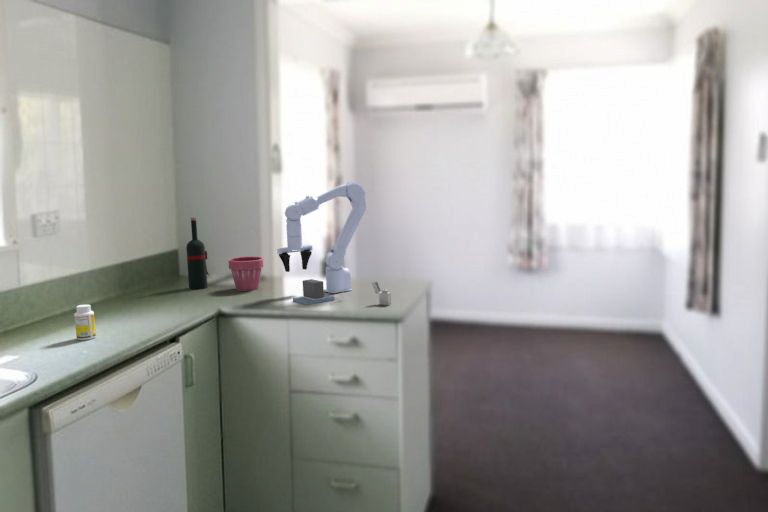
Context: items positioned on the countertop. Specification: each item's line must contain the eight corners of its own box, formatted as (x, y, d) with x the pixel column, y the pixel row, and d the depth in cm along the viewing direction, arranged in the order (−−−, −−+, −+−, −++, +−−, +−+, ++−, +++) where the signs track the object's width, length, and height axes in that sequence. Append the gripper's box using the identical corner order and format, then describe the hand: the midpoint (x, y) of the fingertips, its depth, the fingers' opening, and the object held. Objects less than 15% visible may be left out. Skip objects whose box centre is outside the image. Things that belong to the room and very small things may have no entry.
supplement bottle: (90, 335, 220) (87, 303, 219) (99, 337, 217) (96, 305, 215) (73, 339, 216) (70, 306, 215) (82, 341, 212) (79, 308, 211)
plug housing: (312, 294, 268) (311, 279, 268) (323, 297, 262) (323, 281, 261) (303, 296, 266) (302, 280, 265) (314, 299, 260) (313, 283, 259)
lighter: (391, 304, 252) (390, 282, 251) (388, 305, 250) (387, 283, 249) (375, 302, 256) (374, 280, 255) (372, 303, 254) (371, 281, 253)
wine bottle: (215, 285, 304) (210, 216, 300) (199, 290, 295) (193, 218, 291) (201, 285, 308) (196, 216, 304) (184, 289, 299) (179, 218, 295)
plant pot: (270, 289, 292) (268, 258, 290) (238, 293, 284) (236, 262, 282) (256, 284, 304) (254, 255, 302) (225, 288, 296) (223, 258, 294)
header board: (320, 296, 272) (320, 285, 271) (334, 299, 264) (333, 288, 263) (293, 300, 265) (292, 289, 264) (306, 304, 257) (305, 292, 256)
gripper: (305, 233, 283) (307, 267, 284) (272, 236, 274) (274, 271, 276) (314, 234, 277) (316, 269, 279) (281, 238, 268) (283, 273, 270)
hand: (296, 270), depth 277 cm, fingers open, 7 cm apart
